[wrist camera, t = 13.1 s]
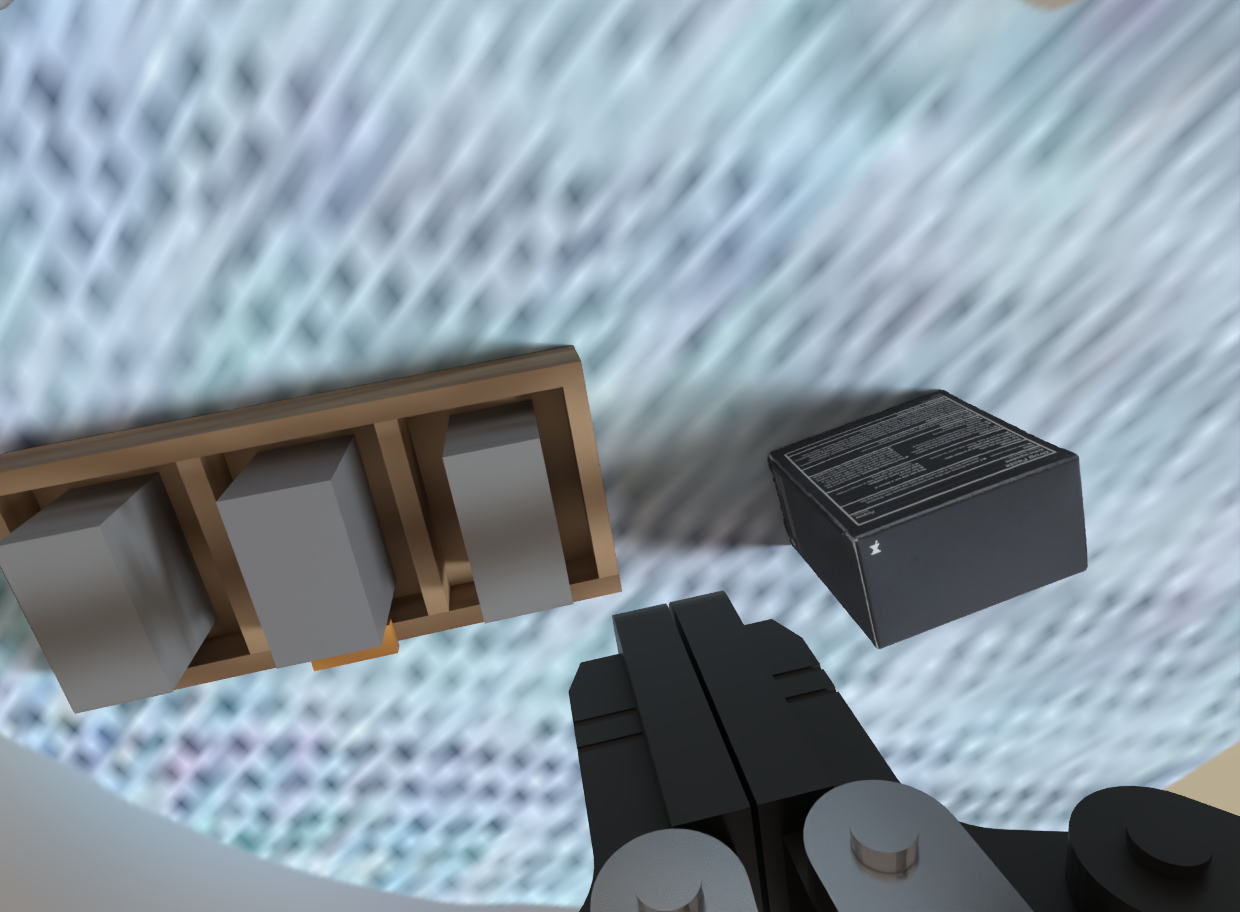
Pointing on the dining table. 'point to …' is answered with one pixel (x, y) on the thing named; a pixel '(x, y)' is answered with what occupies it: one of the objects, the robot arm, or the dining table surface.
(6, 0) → the cupcake
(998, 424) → the small box
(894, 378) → the dining table surface
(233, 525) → the block
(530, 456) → the rack
